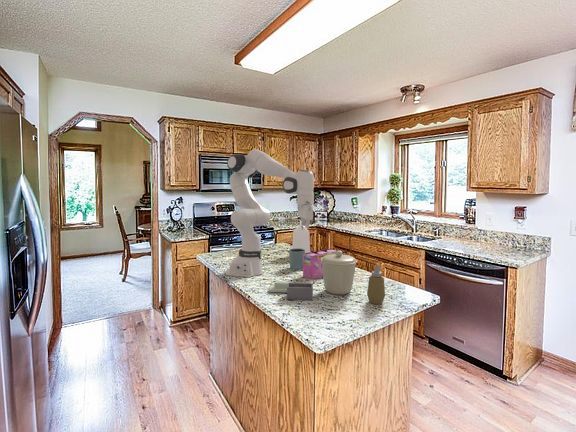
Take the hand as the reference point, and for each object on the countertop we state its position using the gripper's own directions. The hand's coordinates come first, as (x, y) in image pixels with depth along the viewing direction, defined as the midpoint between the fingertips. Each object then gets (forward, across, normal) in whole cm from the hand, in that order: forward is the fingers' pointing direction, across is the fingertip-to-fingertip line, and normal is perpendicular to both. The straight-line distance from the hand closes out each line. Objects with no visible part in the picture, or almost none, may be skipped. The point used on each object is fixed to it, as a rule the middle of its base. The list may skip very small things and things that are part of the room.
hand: (305, 226), depth 179 cm
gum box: (+31, +16, -14) cm, 38 cm away
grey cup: (+31, +30, -2) cm, 44 cm away
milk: (+31, +59, -11) cm, 68 cm away
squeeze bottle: (+31, -33, -26) cm, 52 cm away
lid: (+31, -10, +14) cm, 35 cm away
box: (+31, -21, +7) cm, 38 cm away
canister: (+31, -16, -14) cm, 38 cm away
